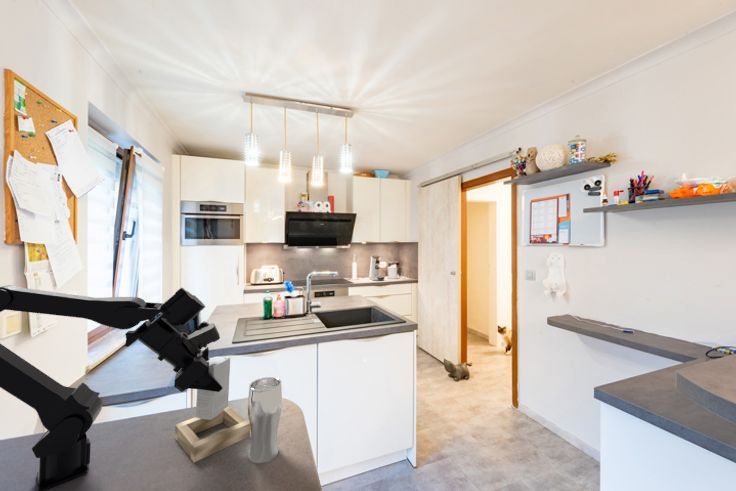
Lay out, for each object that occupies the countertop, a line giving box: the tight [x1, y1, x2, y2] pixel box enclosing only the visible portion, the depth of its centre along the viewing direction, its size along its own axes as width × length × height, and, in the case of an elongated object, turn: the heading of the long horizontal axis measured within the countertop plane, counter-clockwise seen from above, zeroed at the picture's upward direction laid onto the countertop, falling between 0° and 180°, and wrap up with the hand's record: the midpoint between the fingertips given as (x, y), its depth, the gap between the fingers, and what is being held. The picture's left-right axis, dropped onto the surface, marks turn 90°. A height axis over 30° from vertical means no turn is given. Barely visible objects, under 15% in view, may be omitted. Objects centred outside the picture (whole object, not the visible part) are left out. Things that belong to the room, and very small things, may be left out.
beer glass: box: [247, 376, 283, 464], centre depth 64 cm, size 7×7×15 cm
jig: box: [174, 405, 251, 463], centre depth 69 cm, size 12×12×3 cm
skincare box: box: [195, 356, 231, 420], centre depth 70 cm, size 6×4×12 cm
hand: (220, 383), depth 70 cm, fingers closed on skincare box, 7 cm apart
